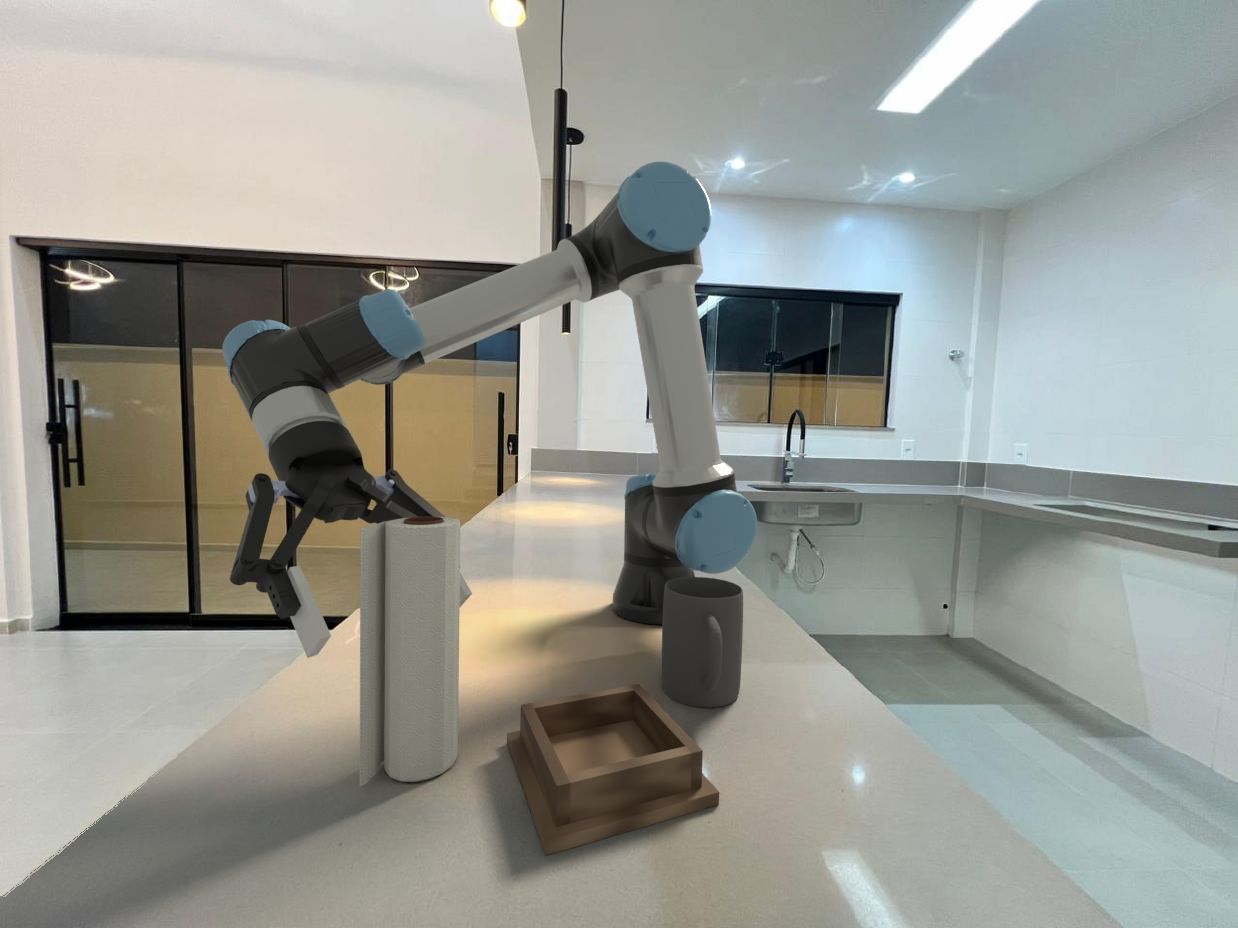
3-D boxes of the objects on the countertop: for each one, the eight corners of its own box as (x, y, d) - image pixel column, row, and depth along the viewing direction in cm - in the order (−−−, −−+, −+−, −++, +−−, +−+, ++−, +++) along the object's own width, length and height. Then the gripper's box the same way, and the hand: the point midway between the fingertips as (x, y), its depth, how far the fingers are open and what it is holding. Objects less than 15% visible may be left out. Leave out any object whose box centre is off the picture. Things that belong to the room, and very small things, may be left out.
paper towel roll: (462, 739, 49) (464, 514, 48) (452, 781, 43) (455, 524, 42) (380, 745, 47) (381, 514, 47) (359, 789, 42) (360, 524, 41)
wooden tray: (642, 715, 54) (643, 678, 54) (718, 804, 41) (720, 754, 41) (507, 743, 48) (507, 701, 48) (545, 855, 35) (546, 798, 35)
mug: (657, 670, 65) (660, 575, 64) (730, 672, 65) (734, 577, 64) (668, 731, 51) (671, 611, 50) (760, 734, 51) (765, 613, 50)
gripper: (403, 465, 64) (486, 608, 57) (136, 472, 43) (214, 701, 36) (431, 422, 61) (523, 568, 54) (159, 408, 40) (249, 644, 33)
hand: (400, 622), depth 45 cm, fingers open, 13 cm apart
